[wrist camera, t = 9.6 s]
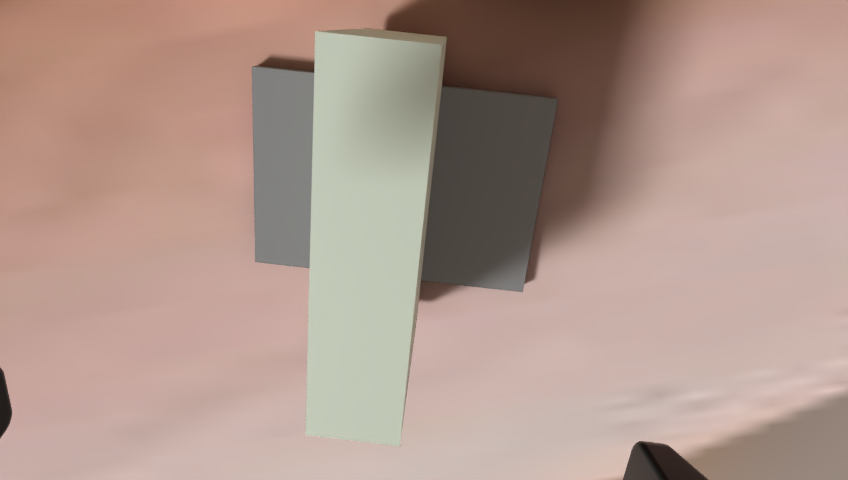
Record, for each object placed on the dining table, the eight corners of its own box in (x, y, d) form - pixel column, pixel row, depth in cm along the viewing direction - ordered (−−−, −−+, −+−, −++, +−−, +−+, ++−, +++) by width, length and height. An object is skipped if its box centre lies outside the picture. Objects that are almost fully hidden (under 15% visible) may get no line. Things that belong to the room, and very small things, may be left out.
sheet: (352, 307, 21) (306, 434, 15) (368, 28, 17) (315, 31, 11) (417, 315, 21) (399, 446, 14) (446, 36, 17) (441, 45, 11)
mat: (259, 256, 21) (255, 262, 21) (257, 65, 18) (252, 66, 18) (520, 286, 21) (522, 292, 20) (555, 97, 18) (558, 99, 18)
